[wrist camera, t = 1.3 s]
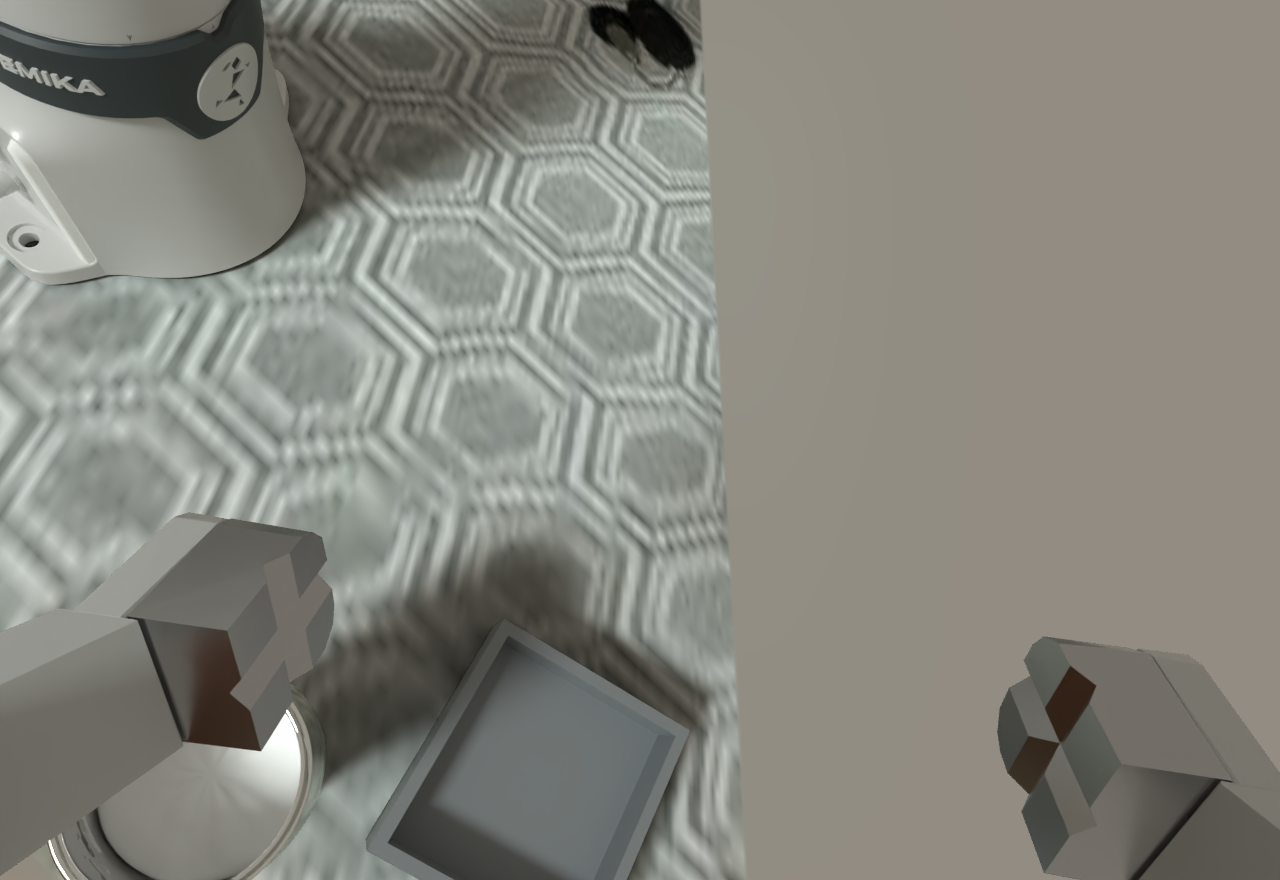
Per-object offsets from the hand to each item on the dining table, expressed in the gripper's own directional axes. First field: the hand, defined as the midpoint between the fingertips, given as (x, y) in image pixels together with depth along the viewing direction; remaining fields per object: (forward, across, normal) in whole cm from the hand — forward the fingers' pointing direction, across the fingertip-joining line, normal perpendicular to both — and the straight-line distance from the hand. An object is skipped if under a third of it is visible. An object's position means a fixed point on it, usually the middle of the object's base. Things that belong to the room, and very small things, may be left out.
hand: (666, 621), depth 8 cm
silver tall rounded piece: (+13, +17, +26) cm, 34 cm away
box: (+16, +5, +29) cm, 33 cm away
